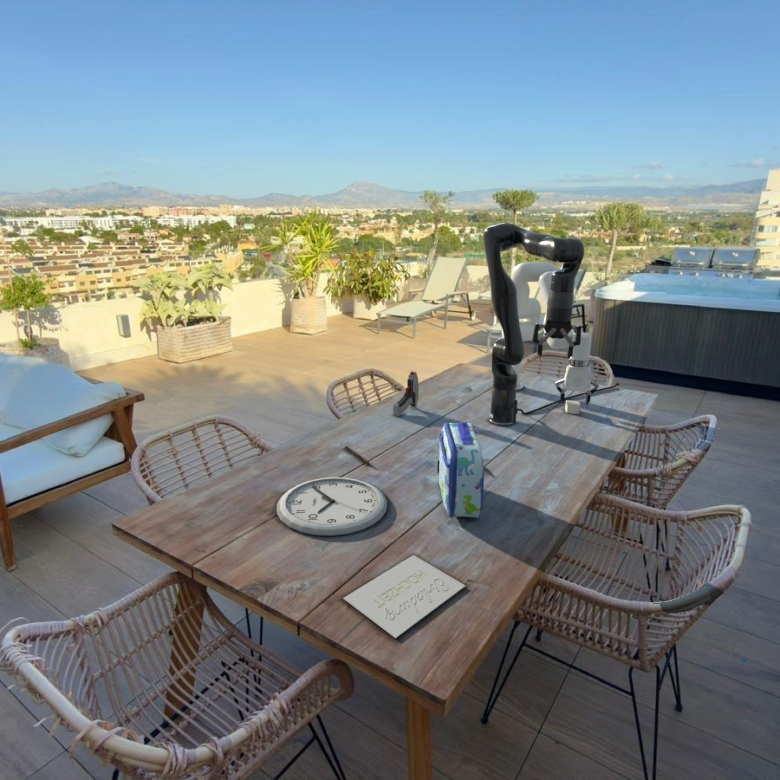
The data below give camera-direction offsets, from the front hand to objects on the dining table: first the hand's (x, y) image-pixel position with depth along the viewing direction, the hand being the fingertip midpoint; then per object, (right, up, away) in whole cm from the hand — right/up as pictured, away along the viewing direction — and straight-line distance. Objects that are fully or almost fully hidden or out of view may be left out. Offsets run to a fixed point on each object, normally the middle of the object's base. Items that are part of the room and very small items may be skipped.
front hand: (554, 357), depth 165 cm
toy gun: (-45, -19, +51) cm, 71 cm away
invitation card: (-49, -53, -56) cm, 91 cm away
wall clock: (-68, -42, -23) cm, 83 cm away
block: (+25, -20, +54) cm, 63 cm away
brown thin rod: (-63, -33, +8) cm, 71 cm away
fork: (-24, -34, +4) cm, 42 cm away
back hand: (+25, -16, +53) cm, 60 cm away
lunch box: (-33, -41, -19) cm, 56 cm away
